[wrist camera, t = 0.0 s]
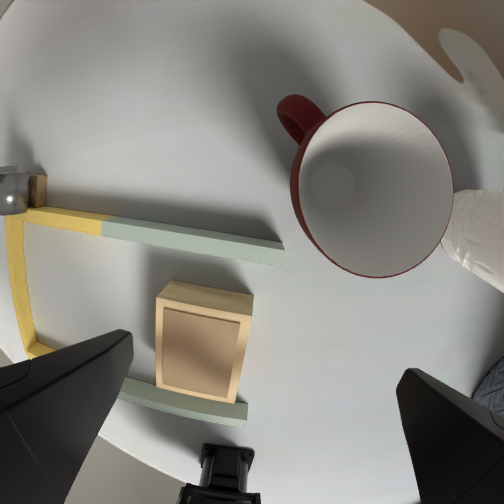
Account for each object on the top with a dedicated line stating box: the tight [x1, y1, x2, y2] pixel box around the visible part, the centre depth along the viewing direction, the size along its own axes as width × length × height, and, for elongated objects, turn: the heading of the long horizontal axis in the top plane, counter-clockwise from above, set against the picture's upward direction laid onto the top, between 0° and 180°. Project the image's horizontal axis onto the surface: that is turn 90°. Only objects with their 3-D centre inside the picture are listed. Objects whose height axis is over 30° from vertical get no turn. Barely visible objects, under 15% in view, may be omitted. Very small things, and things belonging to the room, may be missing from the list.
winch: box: [0, 166, 47, 215], centre depth 18 cm, size 6×4×7 cm, turn 171°
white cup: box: [441, 189, 504, 293], centre depth 16 cm, size 8×8×10 cm
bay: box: [5, 206, 285, 428], centre depth 23 cm, size 18×28×2 cm, turn 81°
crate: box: [155, 280, 254, 404], centre depth 22 cm, size 9×7×4 cm
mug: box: [277, 94, 454, 278], centre depth 16 cm, size 11×8×10 cm
